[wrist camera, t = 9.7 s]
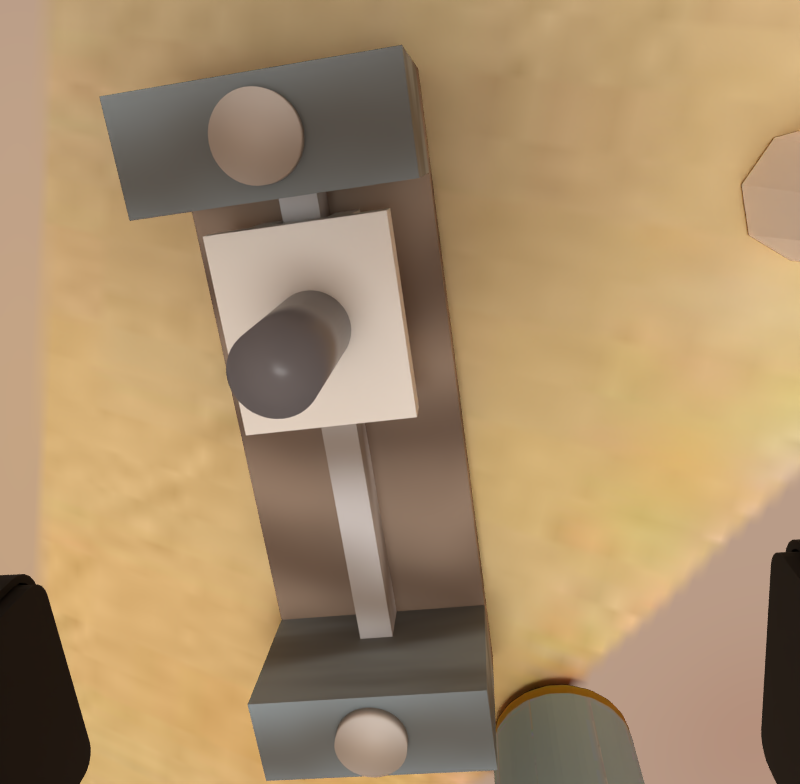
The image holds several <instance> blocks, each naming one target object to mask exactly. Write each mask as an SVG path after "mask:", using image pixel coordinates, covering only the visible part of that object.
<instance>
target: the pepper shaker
mask: <svg viewBox="0 0 800 784" xmlns="http://www.w3.org/2000/svg"><path fill="white" fill-rule="evenodd" d="M742 191H743V198H744V205H745V212H746V219H747V226H748V232H749V236H751V237H753V238H754V239H756V240H758V241H759V242H761V243H763V244H764V245H766V246H768V247H769V248H771V249H772V250H774V251H776V252H777V253H779V254H781V255H782V256H784V257H786V258H787V259H789V260H791V261H800V131H797V132H793V133H790V134H786V135H782V136H779V137H775V138H774V139H773V140H772V142H771V143H770V145H769V146H768V148H767V149H766V151H765V152H764V153H763V155H762V156H761V158H760V159H759V161H758V162H757V163H756V165H755V166H754V168H753V169H752V171H751V172H750V173H749V175H748V176H747V178H746V179H745V181H744V182H743V184H742Z"/></svg>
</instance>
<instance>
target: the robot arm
mask: <svg viewBox="0 0 800 784" xmlns="http://www.w3.org/2000/svg"><path fill="white" fill-rule="evenodd" d="M761 731H762V732H761V737H762V745H763V749H764V754H765V758H766V761H767V763H768V766H769V768H770V770H771V772H772V775H773V777H774V779H775V781H776V783H777V784H800V540H792V541H790V542H789V544H788V546H787V548H786V552H781V553H775V554H774V555H773V558H772V562H771V574H770V591H769V608H768V625H767V643H766V659H765V677H764V693H763V711H762V727H761ZM90 752H91V748H90V742H89V738H88V735H87V731H86V728H85V724H84V721H83V717H82V714H81V710H80V707H79V703H78V700H77V696H76V693H75V689H74V686H73V682H72V679H71V676H70V672H69V669H68V665H67V662H66V658H65V655H64V651H63V648H62V644H61V641H60V637H59V634H58V630H57V627H56V623H55V620H54V616H53V613H52V609H51V606H50V602H49V599H48V595H47V593H46V591H45V589H44V588H43V587H42V586H40V585H36V584H35V582H34V580H33V579H32V578H31V577H30V576H27V575H25V574H18V575H0V784H80V782H81V780H82V779H83V777H84V775H85V773H86V771H87V769H88V765H89V761H90Z"/></svg>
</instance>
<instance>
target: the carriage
mask: <svg viewBox="0 0 800 784" xmlns="http://www.w3.org/2000/svg"><path fill="white" fill-rule="evenodd" d="M203 240H204V245H205V250H206V254H207V259H208V263H209V268H210V273H211V277H212V282H213V286H214V291H215V296H216V300H217V305H218V309H219V314H220V319H221V323H222V328H223V332H224V337H225V342H226V346H227V351H228V358H227V364H226V374H227V380H228V383H229V386H230V388H231V390H232V392H233V394H234V396H235V397H236V398H237V400H238V401H239V406H240V410H241V415H242V420H243V424H244V429H245V433H246V435H255V434H264V433H274V432H283V431H292V430H302V429H311V428H321V427H330V426H339V425H349V424H358V423H367V422H377V421H386V420H396V419H405V418H414V417H417V414H418V409H419V405H418V398H417V391H416V384H415V377H414V370H413V363H412V356H411V349H410V342H409V335H408V329H407V322H406V315H405V308H404V301H403V294H402V287H401V280H400V273H399V266H398V259H397V252H396V245H395V238H394V232H393V225H392V218H391V211H390V208H386V209H379V210H372V211H365V212H360V209H359V210H352V211H345V212H338V213H334V214H332V215H330V216H328V217H323V218H316V219H309V220H302V221H295V222H289V223H283V220H282V221H275V222H268V223H262V224H259V225H256V226H253V227H251V228H247V229H240V230H233V231H226V232H219V233H212V234H209V235H206V236H203Z"/></svg>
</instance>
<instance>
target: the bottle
mask: <svg viewBox="0 0 800 784" xmlns="http://www.w3.org/2000/svg"><path fill="white" fill-rule="evenodd" d="M496 748H497V770H494V776H495V784H644V780H643V777H642V773H641V769H640V766H639V762H638V758H637V755H636V751H635V747H634V743H633V740H632V737H631V734H630V731H629V728H628V725H627V724H626V721H625V719H624V717H623V715H622V714H621V712H620V711H619V710H618V709H617V708H616V707H615V706H614V705H613V704H612V703H611V702H610V701H609V700H608V699H606V698H604V697H602V696H601V695H599V694H597V693H595V692H593V691H591V690H588V689H584V688H580V687H575V686H570V685H548V686H544V687H541V688H538V689H535V690H531V691H529V692H527V693H524V694H523V695H521V696H520V697H518V698H517V699H515V700H514V701H512V702H511V703H510V704H509V705H508V706H507V707H506V709H505V710H504V711H503V713H502V714H501V715H500V717H499V719H498V721H497V724H496Z"/></svg>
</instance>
